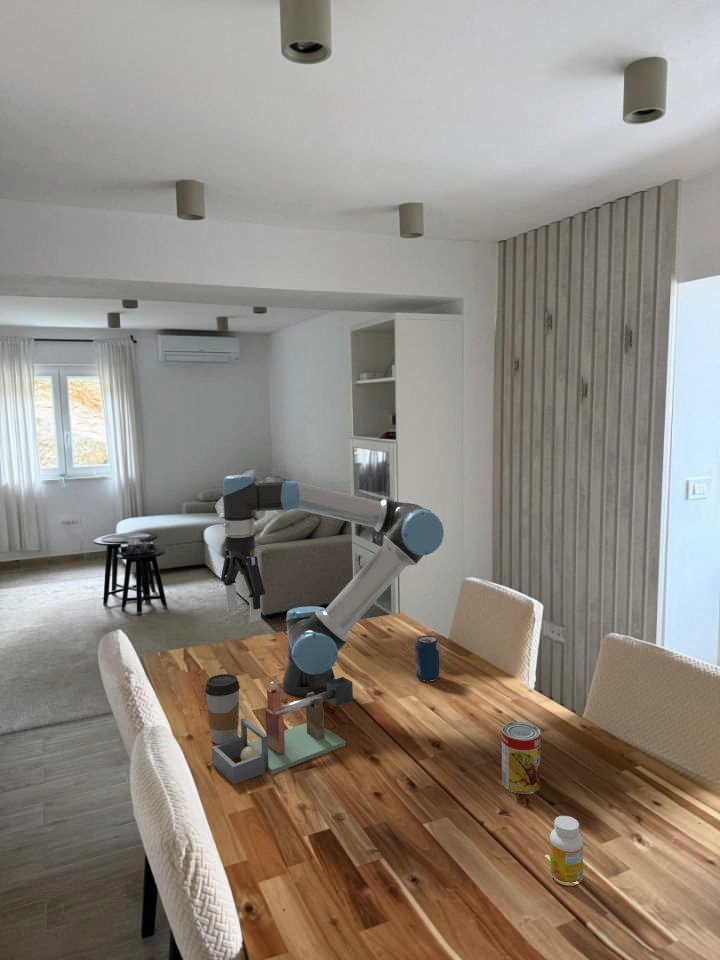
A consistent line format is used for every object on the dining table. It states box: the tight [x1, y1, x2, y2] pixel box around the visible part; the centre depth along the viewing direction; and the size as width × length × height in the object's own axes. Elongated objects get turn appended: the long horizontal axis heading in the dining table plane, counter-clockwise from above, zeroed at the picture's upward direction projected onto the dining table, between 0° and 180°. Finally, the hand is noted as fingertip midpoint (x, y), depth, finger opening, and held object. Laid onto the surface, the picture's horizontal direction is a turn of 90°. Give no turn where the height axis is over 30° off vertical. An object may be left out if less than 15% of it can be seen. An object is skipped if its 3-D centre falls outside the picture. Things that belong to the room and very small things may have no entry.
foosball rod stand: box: [265, 676, 354, 755], centre depth 161 cm, size 22×6×16 cm, turn 127°
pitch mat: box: [247, 722, 347, 775], centre depth 159 cm, size 20×14×1 cm
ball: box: [239, 746, 258, 762], centre depth 152 cm, size 4×4×4 cm
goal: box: [211, 717, 269, 786], centre depth 150 cm, size 8×11×8 cm
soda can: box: [414, 635, 440, 681], centre depth 198 cm, size 7×7×12 cm
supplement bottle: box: [549, 815, 584, 883], centre depth 113 cm, size 5×5×10 cm
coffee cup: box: [204, 673, 241, 745], centre depth 164 cm, size 8×8×15 cm
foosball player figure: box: [305, 692, 325, 740], centre depth 162 cm, size 2×5×11 cm, turn 37°
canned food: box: [501, 721, 541, 794], centre depth 141 cm, size 8×8×12 cm
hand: (243, 614), depth 176 cm, fingers open, 13 cm apart
